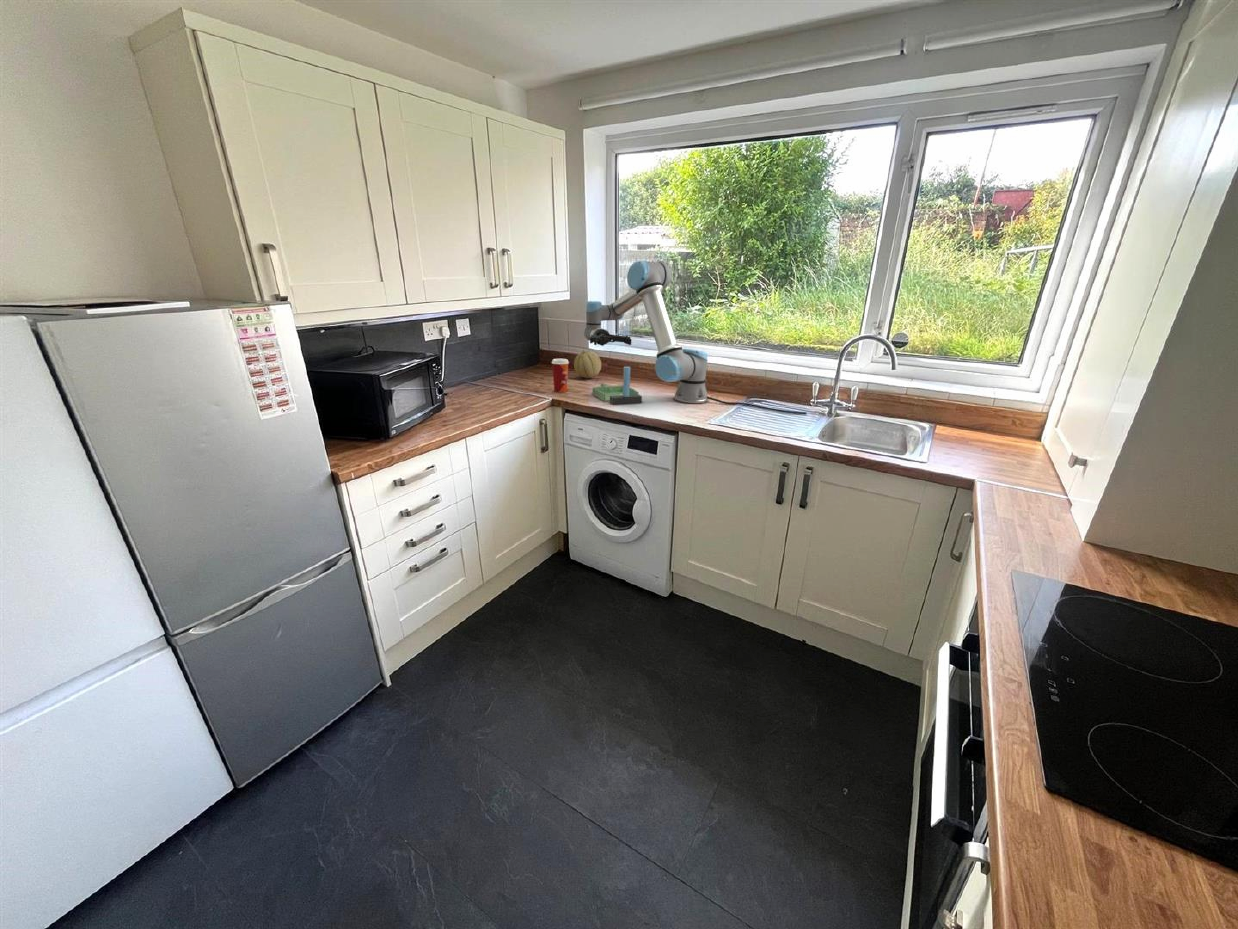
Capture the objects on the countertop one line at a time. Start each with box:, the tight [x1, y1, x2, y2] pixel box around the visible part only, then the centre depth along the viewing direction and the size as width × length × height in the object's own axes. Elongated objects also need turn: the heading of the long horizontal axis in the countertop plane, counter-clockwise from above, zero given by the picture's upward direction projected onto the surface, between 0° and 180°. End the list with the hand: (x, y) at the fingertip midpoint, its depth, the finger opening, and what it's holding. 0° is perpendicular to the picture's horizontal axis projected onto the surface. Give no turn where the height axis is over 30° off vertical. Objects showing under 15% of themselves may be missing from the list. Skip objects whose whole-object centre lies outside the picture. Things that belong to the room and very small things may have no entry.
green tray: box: [592, 382, 639, 402], centre depth 238 cm, size 25×17×3 cm
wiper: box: [609, 366, 643, 406], centre depth 221 cm, size 4×14×16 cm, turn 113°
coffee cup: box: [551, 358, 570, 393], centre depth 239 cm, size 8×8×15 cm
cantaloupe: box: [573, 350, 602, 379], centre depth 269 cm, size 15×15×15 cm
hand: (616, 342), depth 225 cm, fingers open, 13 cm apart
